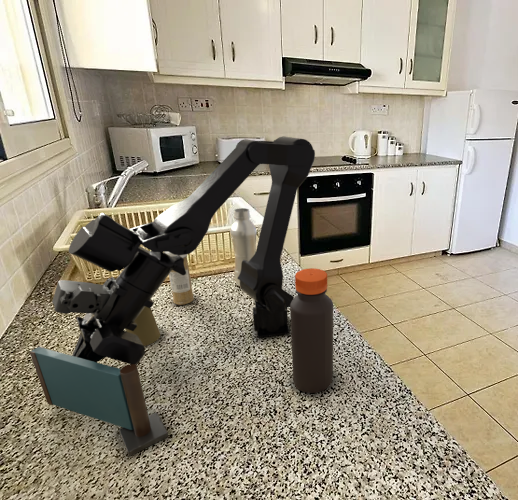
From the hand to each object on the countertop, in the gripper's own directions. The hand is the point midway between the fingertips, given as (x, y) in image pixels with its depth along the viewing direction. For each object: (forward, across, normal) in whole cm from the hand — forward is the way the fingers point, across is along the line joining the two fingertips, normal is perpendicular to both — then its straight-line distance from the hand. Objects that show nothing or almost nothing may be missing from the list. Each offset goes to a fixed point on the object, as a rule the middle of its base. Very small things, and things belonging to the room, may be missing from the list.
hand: (69, 373), depth 55 cm
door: (+3, +4, +5) cm, 7 cm away
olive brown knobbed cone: (-4, -13, +14) cm, 20 cm away
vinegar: (-17, +18, +27) cm, 36 cm away
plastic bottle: (-23, -22, +33) cm, 46 cm away
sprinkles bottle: (-12, -24, +22) cm, 34 cm away
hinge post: (0, +12, +9) cm, 15 cm away
